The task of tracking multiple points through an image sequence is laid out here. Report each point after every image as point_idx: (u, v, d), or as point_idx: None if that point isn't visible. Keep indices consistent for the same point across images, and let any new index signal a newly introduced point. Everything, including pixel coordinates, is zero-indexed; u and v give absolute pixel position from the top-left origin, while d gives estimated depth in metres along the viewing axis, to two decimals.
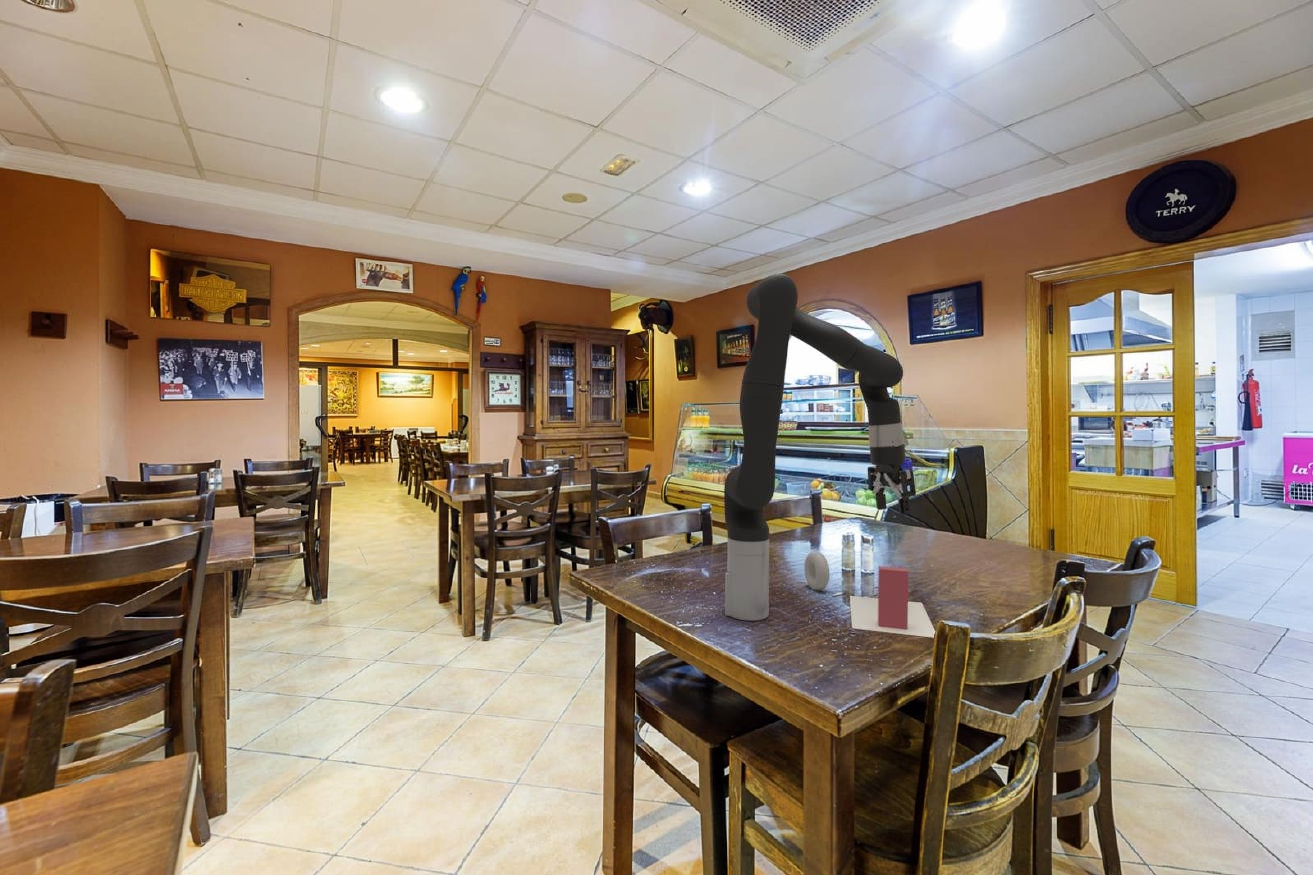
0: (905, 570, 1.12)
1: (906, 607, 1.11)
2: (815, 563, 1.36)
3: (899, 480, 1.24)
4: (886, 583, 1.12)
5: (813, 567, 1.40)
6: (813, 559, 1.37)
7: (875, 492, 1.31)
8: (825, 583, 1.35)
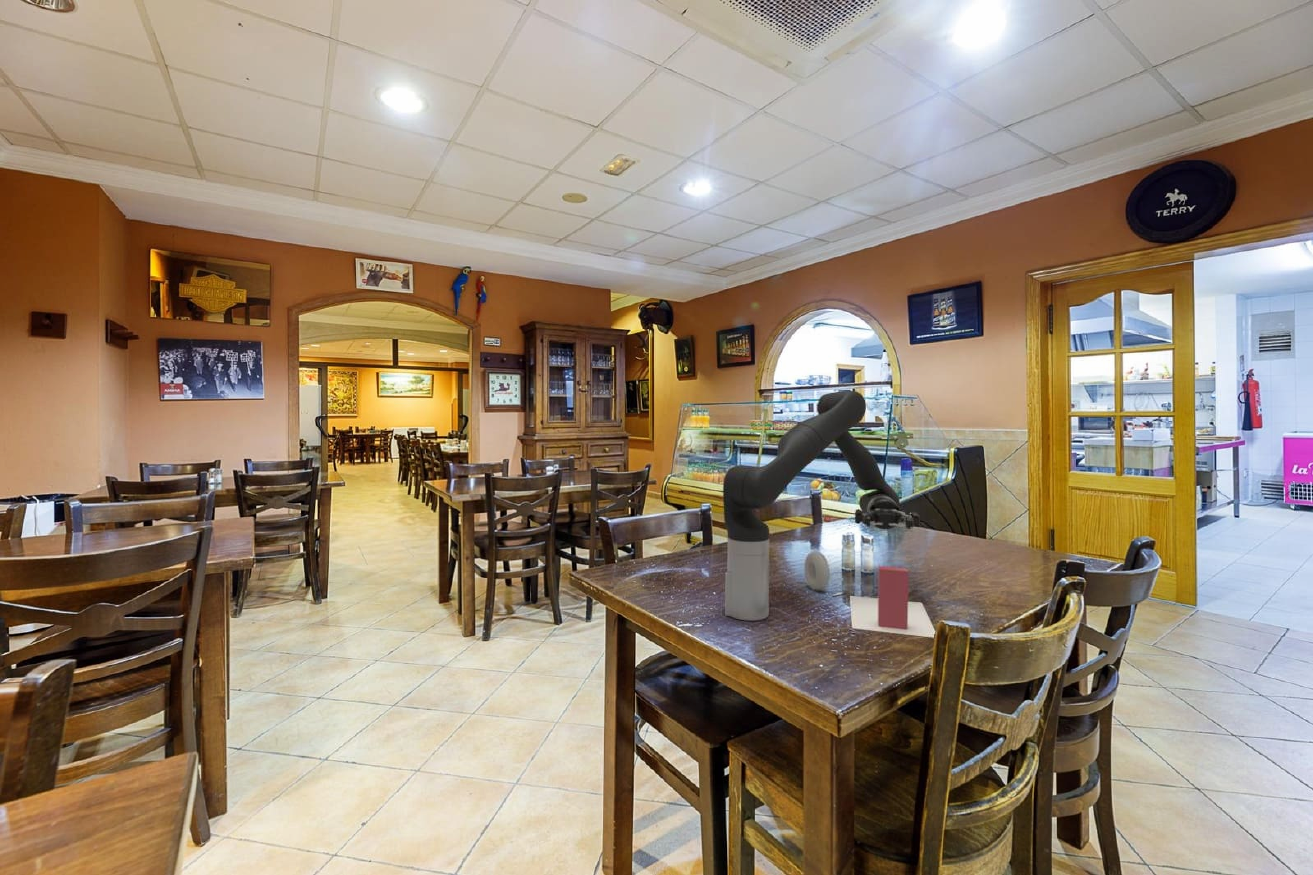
0: (905, 570, 1.12)
1: (906, 607, 1.11)
2: (815, 563, 1.36)
3: None
4: (886, 583, 1.12)
5: (813, 567, 1.40)
6: (813, 559, 1.37)
7: (867, 514, 1.29)
8: (825, 583, 1.35)
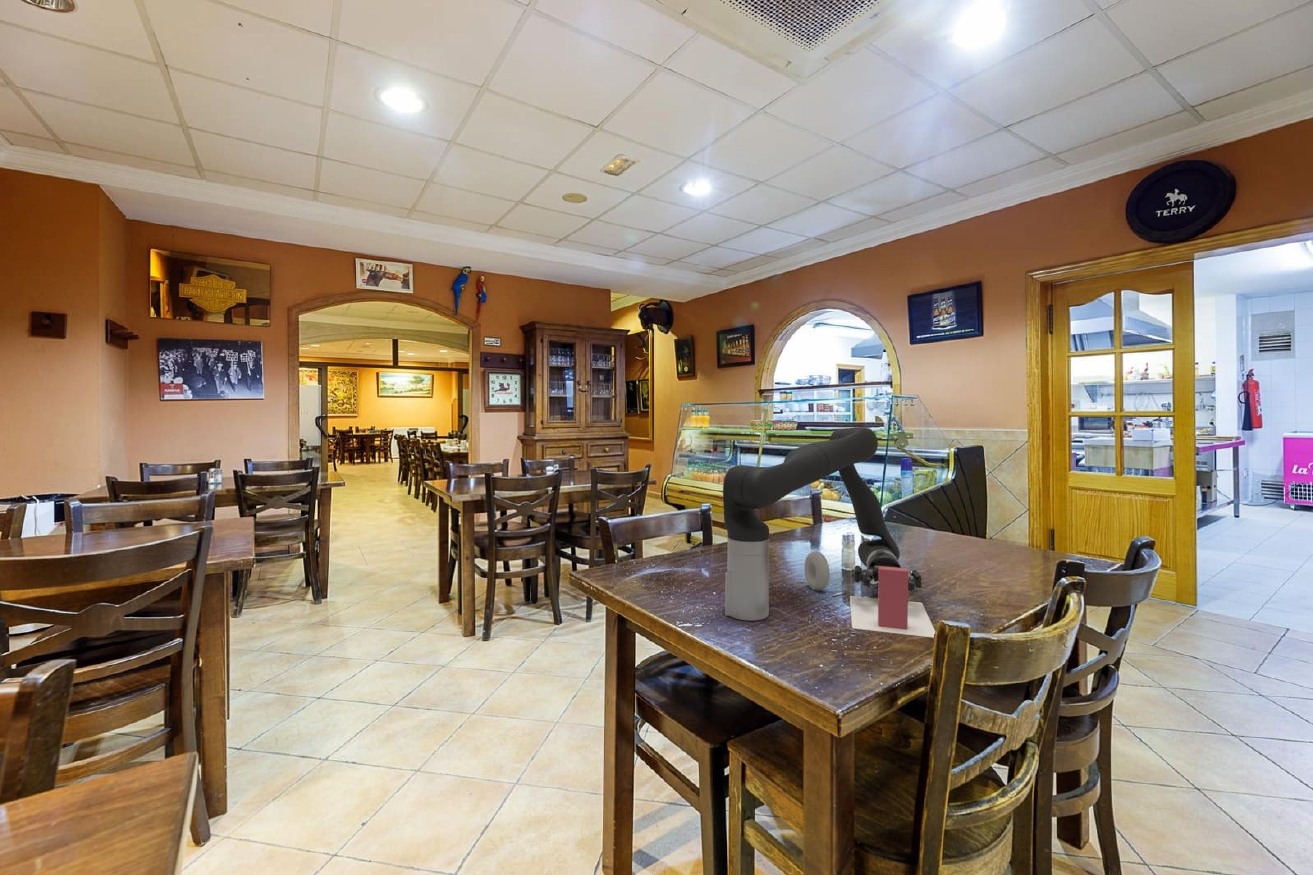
0: (905, 570, 1.12)
1: (906, 607, 1.11)
2: (815, 563, 1.36)
3: None
4: (886, 583, 1.12)
5: (813, 567, 1.40)
6: (813, 559, 1.37)
7: (867, 573, 1.25)
8: (825, 583, 1.35)
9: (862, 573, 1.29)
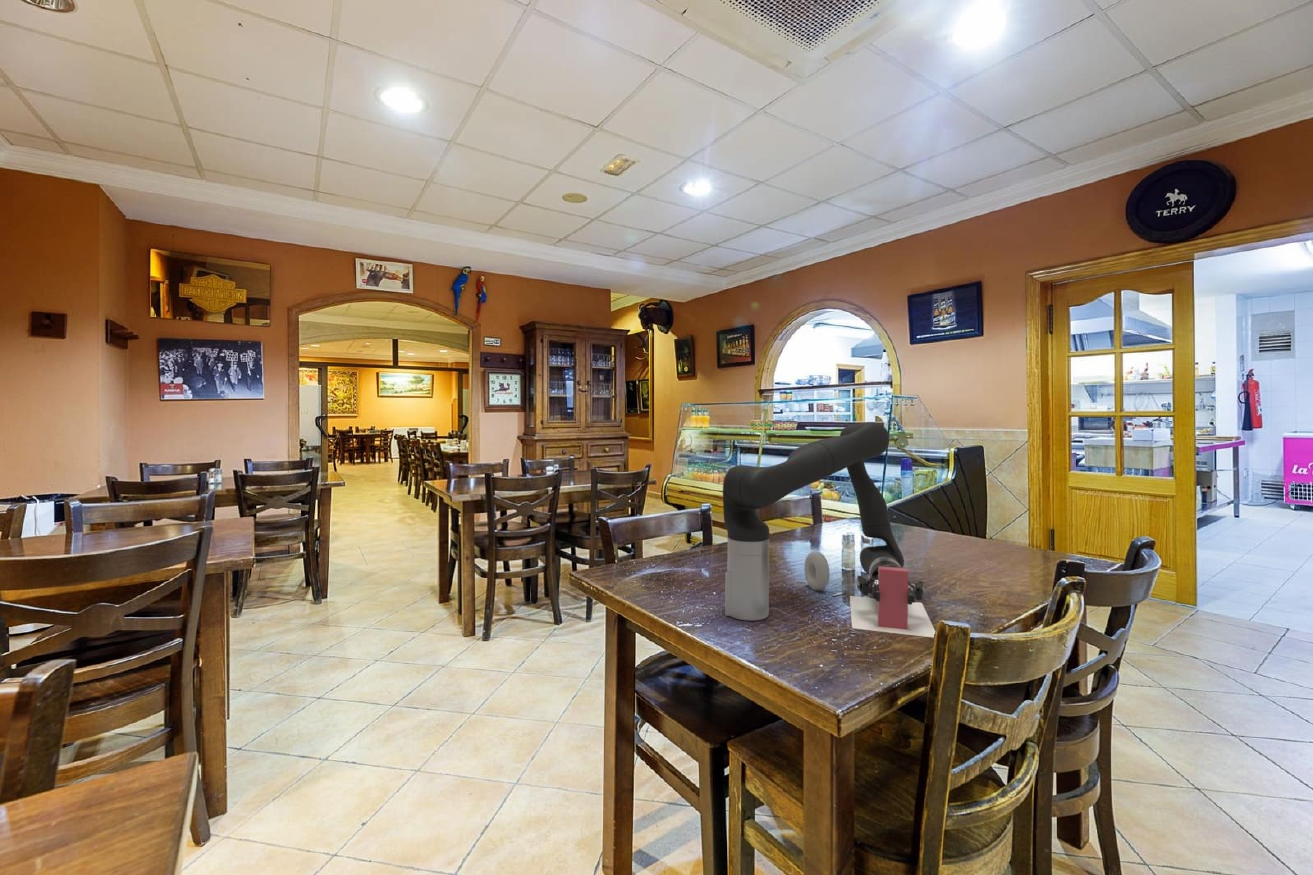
0: (905, 570, 1.11)
1: (906, 607, 1.11)
2: (815, 563, 1.36)
3: None
4: (886, 583, 1.12)
5: (813, 567, 1.40)
6: (813, 559, 1.37)
7: (876, 585, 1.15)
8: (825, 583, 1.35)
9: None
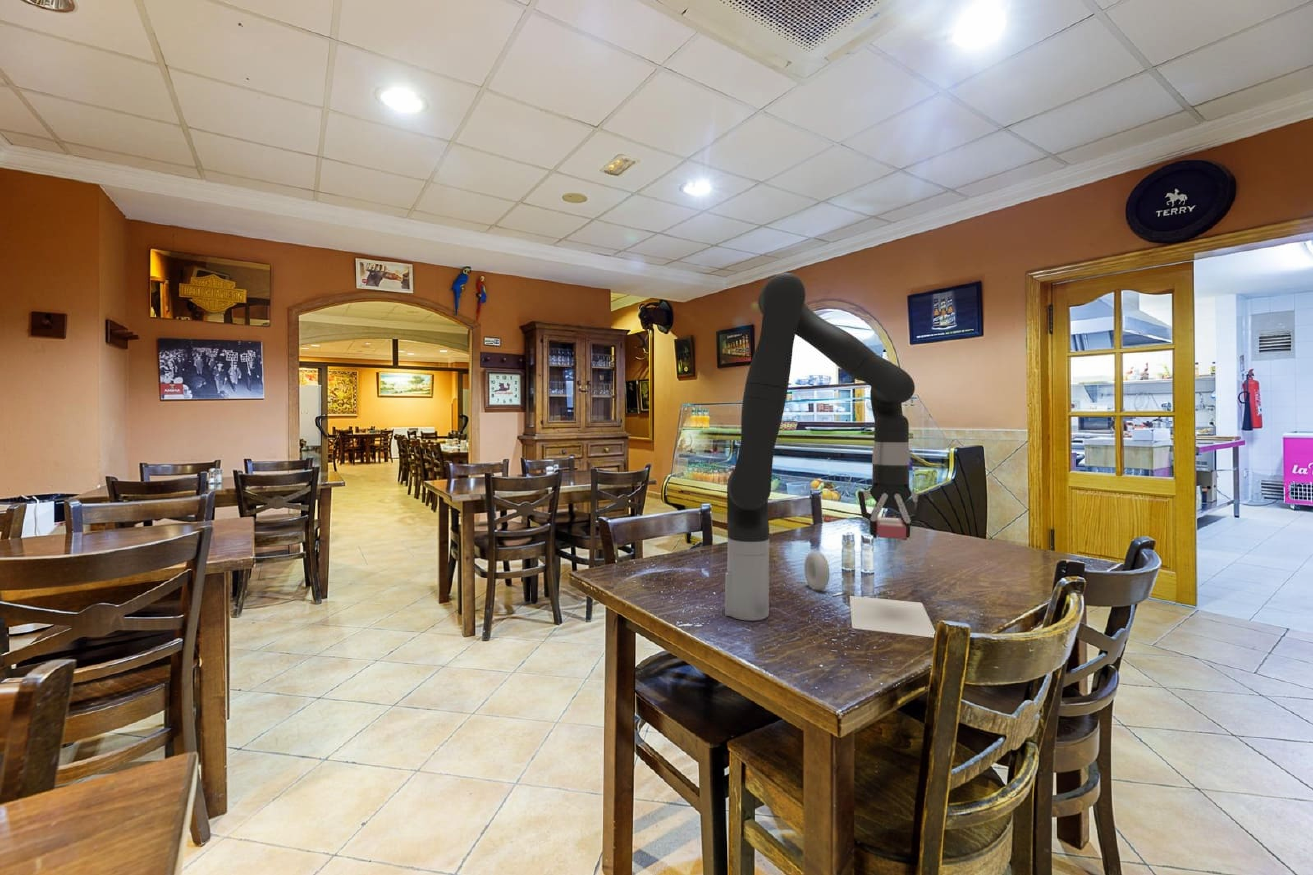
0: (903, 535, 1.15)
1: None
2: (815, 563, 1.36)
3: None
4: None
5: (813, 567, 1.40)
6: (813, 559, 1.37)
7: (874, 519, 1.20)
8: (825, 583, 1.35)
9: None
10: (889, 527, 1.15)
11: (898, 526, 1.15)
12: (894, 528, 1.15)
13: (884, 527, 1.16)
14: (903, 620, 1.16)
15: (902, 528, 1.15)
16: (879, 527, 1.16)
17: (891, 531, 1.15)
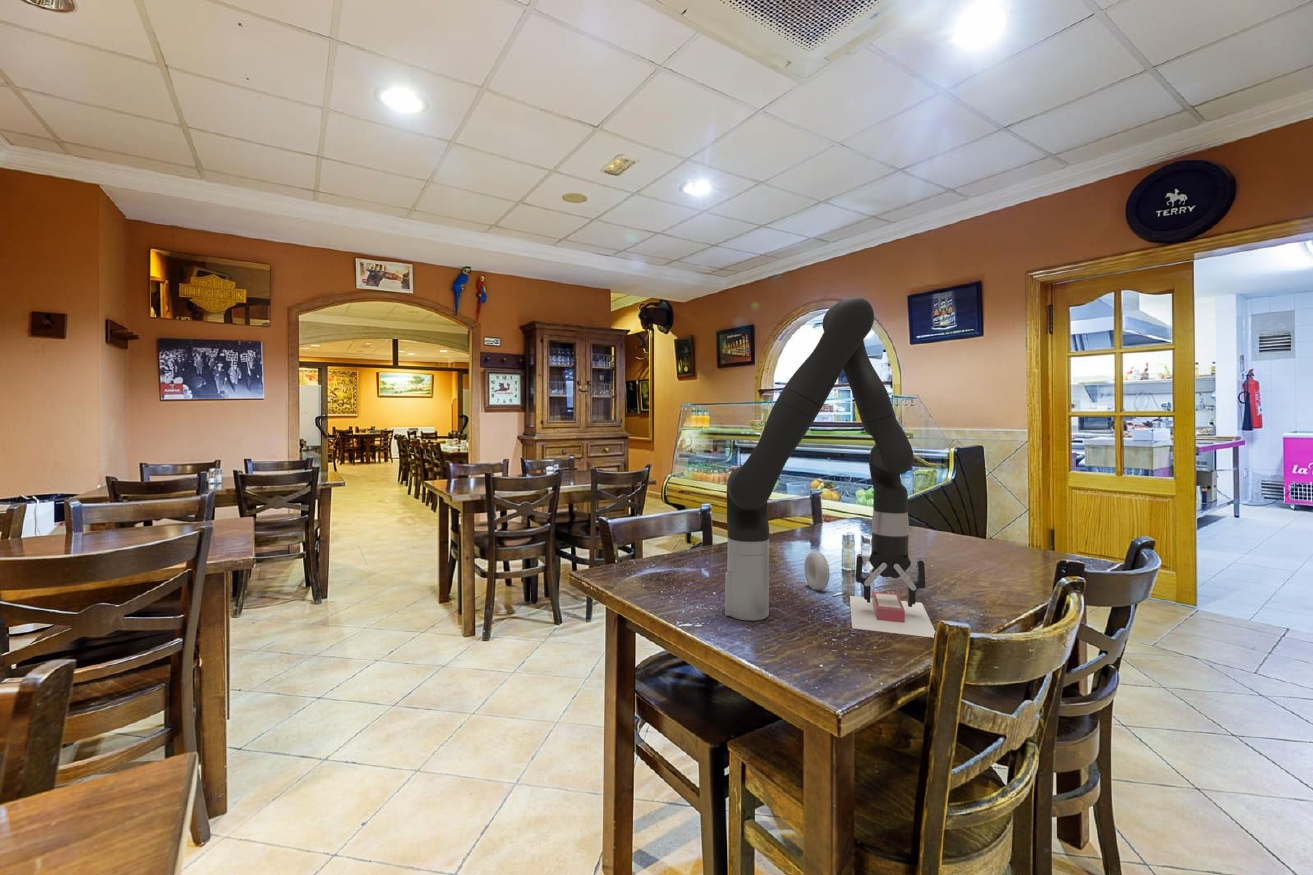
0: (902, 619, 1.15)
1: None
2: (815, 563, 1.36)
3: None
4: None
5: (813, 567, 1.40)
6: (813, 559, 1.37)
7: (868, 584, 1.21)
8: (825, 583, 1.35)
9: (864, 565, 1.22)
10: (888, 610, 1.16)
11: (897, 609, 1.16)
12: (893, 611, 1.16)
13: (883, 610, 1.16)
14: None
15: (901, 611, 1.15)
16: (878, 610, 1.16)
17: (890, 614, 1.16)
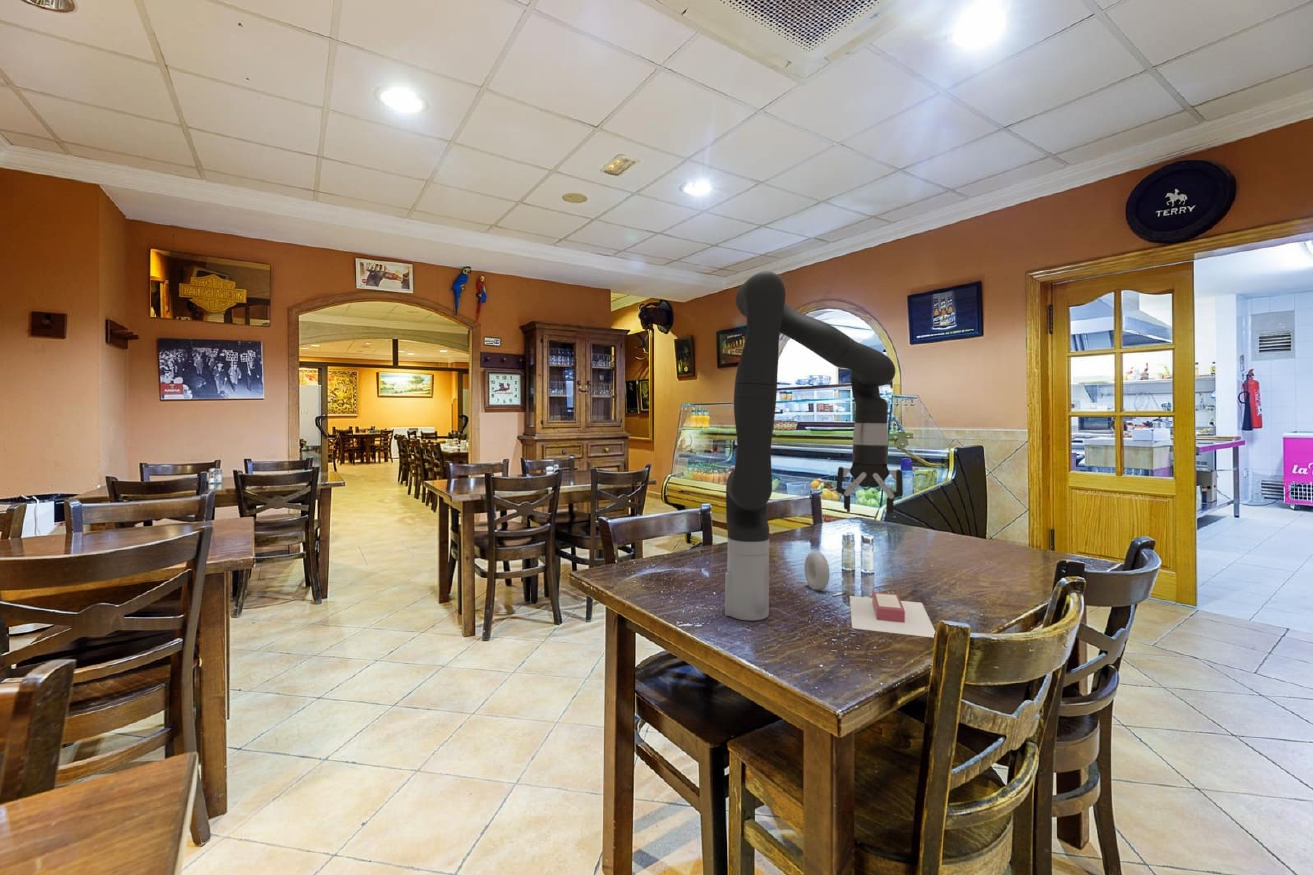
0: (902, 619, 1.15)
1: None
2: (815, 563, 1.36)
3: None
4: None
5: (813, 567, 1.40)
6: (813, 559, 1.37)
7: (848, 494, 1.25)
8: (825, 583, 1.35)
9: (845, 476, 1.27)
10: (888, 610, 1.16)
11: (897, 609, 1.16)
12: (893, 611, 1.16)
13: (883, 610, 1.16)
14: None
15: (901, 611, 1.15)
16: (878, 610, 1.16)
17: (890, 614, 1.16)
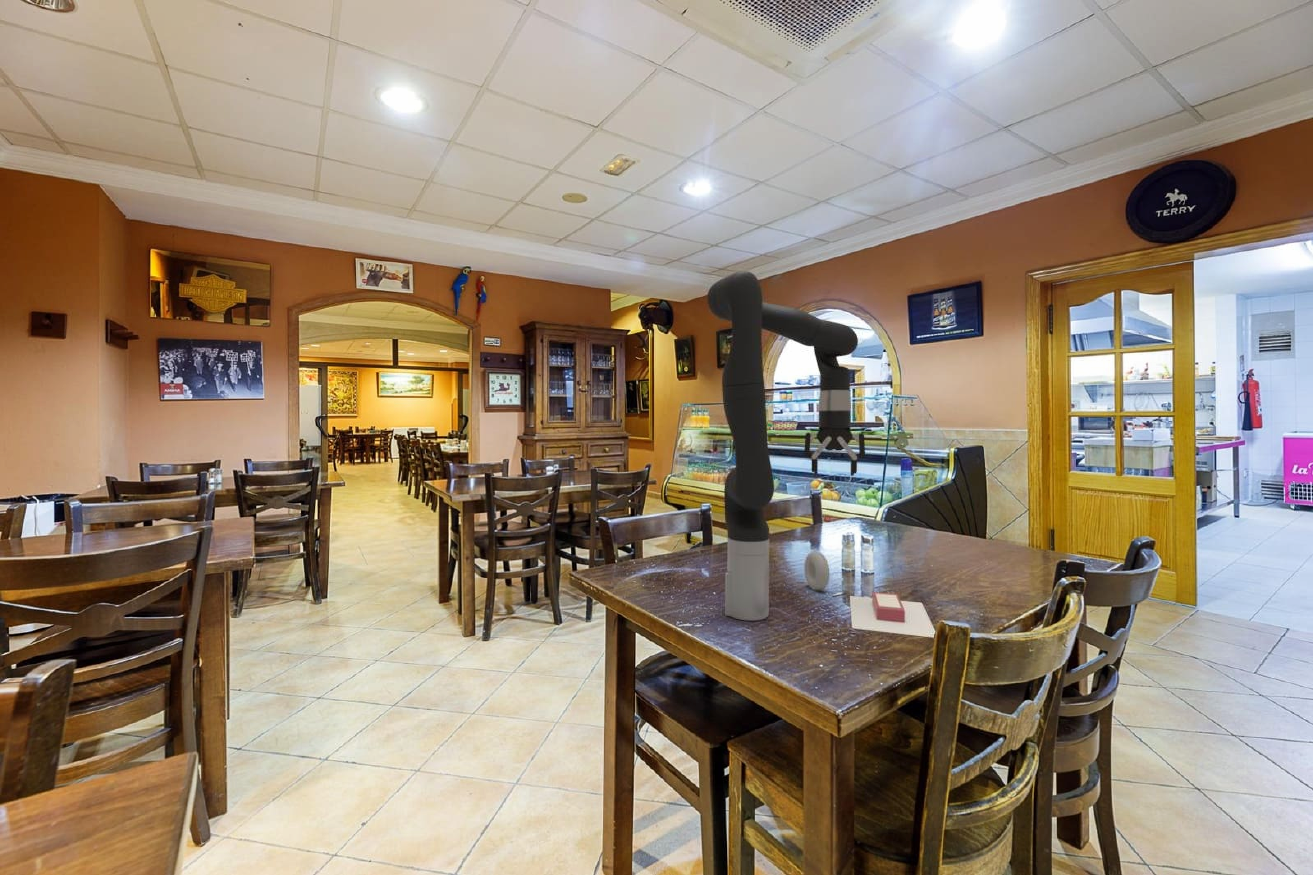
0: (902, 619, 1.15)
1: None
2: (815, 563, 1.36)
3: None
4: None
5: (813, 567, 1.40)
6: (813, 559, 1.37)
7: (815, 457, 1.34)
8: (825, 583, 1.35)
9: None
10: (888, 610, 1.16)
11: (897, 609, 1.16)
12: (893, 611, 1.16)
13: (883, 610, 1.16)
14: None
15: (901, 611, 1.15)
16: (878, 610, 1.16)
17: (890, 614, 1.16)
